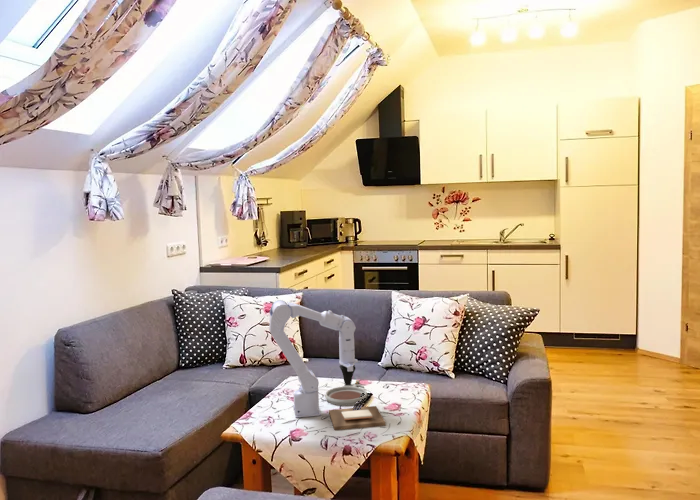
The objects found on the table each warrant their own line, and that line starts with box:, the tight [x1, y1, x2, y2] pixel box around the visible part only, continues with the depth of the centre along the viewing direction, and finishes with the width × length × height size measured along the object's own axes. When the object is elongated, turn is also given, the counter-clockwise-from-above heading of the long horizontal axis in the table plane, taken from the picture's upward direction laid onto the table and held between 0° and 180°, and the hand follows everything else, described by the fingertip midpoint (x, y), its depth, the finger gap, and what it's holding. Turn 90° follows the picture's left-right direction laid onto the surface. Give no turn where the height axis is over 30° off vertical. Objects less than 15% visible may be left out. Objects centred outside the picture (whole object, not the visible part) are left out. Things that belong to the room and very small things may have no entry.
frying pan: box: [324, 379, 368, 407], centre depth 248 cm, size 17×3×28 cm
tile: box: [341, 409, 372, 420], centre depth 220 cm, size 10×9×1 cm
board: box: [328, 405, 386, 431], centre depth 221 cm, size 18×16×1 cm
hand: (347, 384), depth 230 cm, fingers closed
